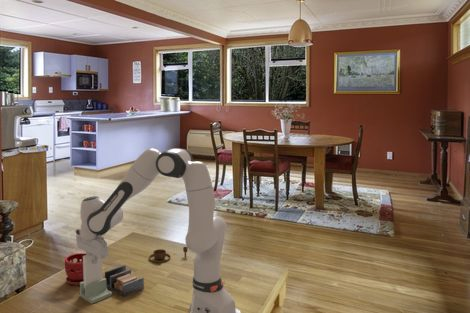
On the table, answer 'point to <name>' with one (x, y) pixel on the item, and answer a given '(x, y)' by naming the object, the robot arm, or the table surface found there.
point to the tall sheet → (91, 269)
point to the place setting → (163, 255)
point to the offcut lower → (118, 286)
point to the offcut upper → (126, 279)
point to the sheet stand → (94, 291)
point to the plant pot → (74, 269)
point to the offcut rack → (126, 288)
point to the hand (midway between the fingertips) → (92, 262)
